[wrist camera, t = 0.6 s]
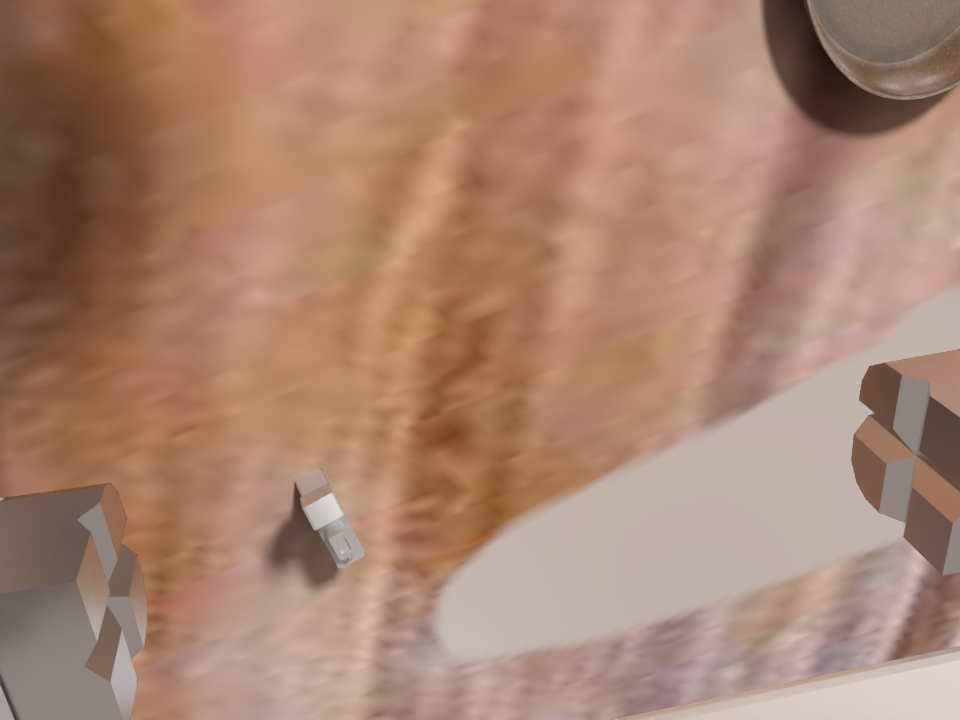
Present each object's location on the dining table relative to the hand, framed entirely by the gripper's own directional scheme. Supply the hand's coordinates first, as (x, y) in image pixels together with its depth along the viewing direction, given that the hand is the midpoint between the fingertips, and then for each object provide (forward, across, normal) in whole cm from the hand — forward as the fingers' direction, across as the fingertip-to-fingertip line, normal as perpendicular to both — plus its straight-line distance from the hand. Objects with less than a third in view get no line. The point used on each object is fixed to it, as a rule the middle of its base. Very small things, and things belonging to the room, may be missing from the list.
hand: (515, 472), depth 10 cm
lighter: (+39, +4, +25) cm, 46 cm away
